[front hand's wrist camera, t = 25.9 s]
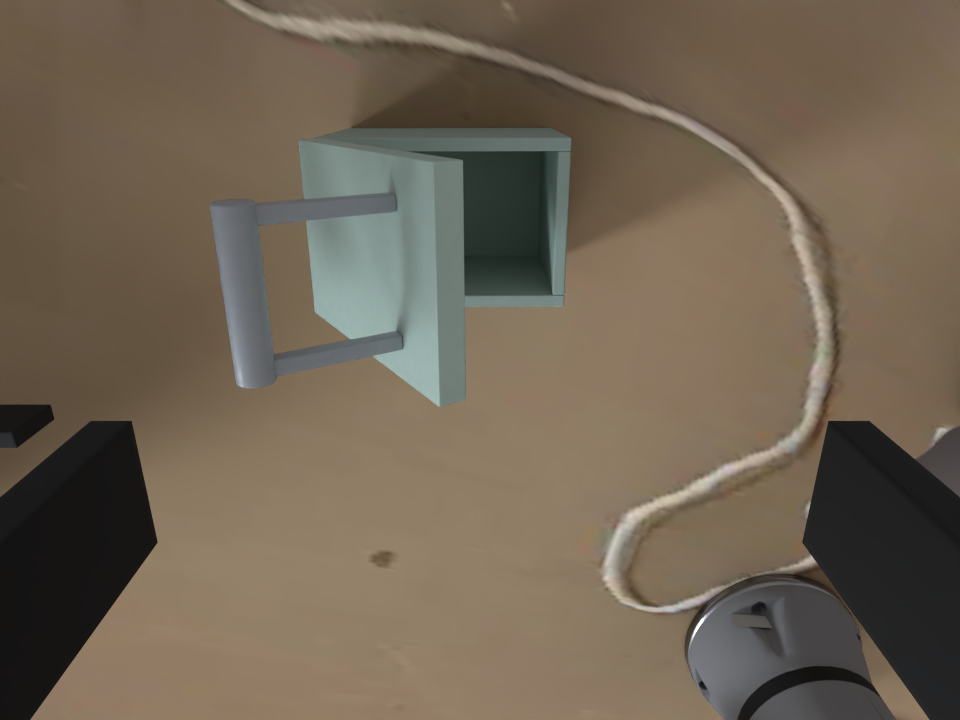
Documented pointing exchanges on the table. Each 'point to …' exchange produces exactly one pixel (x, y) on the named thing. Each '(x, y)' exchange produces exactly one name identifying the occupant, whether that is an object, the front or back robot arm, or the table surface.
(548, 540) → the table surface
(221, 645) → the table surface
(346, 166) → the lid
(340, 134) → the chest
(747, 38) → the table surface
